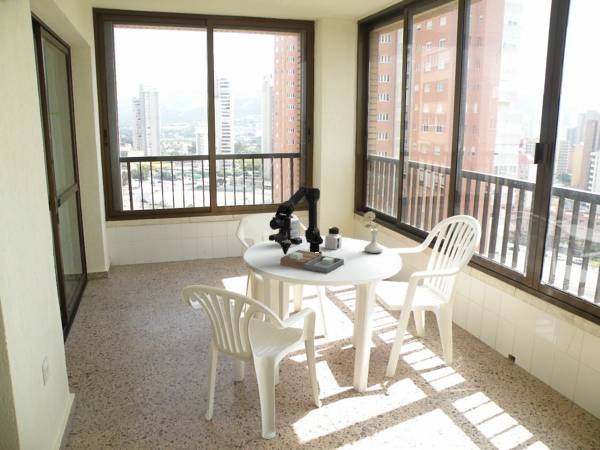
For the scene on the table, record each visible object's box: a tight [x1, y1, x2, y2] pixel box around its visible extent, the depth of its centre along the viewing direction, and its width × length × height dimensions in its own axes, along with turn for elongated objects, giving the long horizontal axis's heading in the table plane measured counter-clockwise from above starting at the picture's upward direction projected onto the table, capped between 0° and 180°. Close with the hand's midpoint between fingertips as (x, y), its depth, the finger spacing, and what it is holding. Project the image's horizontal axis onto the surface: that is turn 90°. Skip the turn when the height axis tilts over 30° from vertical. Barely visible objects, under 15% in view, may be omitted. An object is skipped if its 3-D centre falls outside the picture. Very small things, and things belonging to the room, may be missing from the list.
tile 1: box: [289, 251, 303, 260], centre depth 288 cm, size 5×5×2 cm
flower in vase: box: [362, 211, 384, 254], centre depth 316 cm, size 13×11×25 cm
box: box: [303, 255, 345, 274], centre depth 286 cm, size 20×14×3 cm
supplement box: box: [287, 217, 301, 249], centre depth 329 cm, size 10×9×17 cm
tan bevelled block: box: [280, 249, 323, 270], centre depth 293 cm, size 20×15×4 cm
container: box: [324, 226, 343, 251], centre depth 325 cm, size 8×8×13 cm
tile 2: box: [322, 256, 335, 265], centre depth 291 cm, size 5×5×2 cm
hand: (285, 254), depth 291 cm, fingers closed
